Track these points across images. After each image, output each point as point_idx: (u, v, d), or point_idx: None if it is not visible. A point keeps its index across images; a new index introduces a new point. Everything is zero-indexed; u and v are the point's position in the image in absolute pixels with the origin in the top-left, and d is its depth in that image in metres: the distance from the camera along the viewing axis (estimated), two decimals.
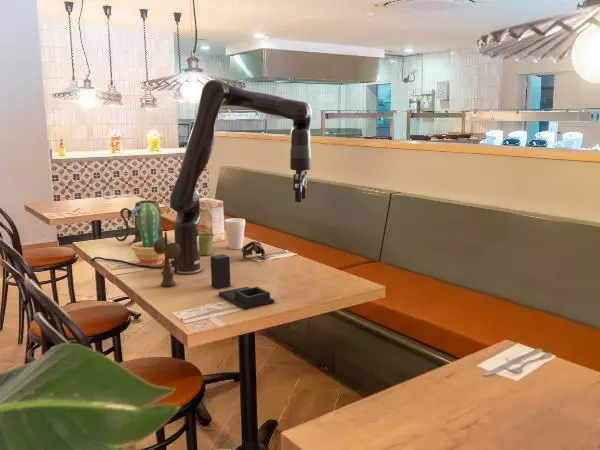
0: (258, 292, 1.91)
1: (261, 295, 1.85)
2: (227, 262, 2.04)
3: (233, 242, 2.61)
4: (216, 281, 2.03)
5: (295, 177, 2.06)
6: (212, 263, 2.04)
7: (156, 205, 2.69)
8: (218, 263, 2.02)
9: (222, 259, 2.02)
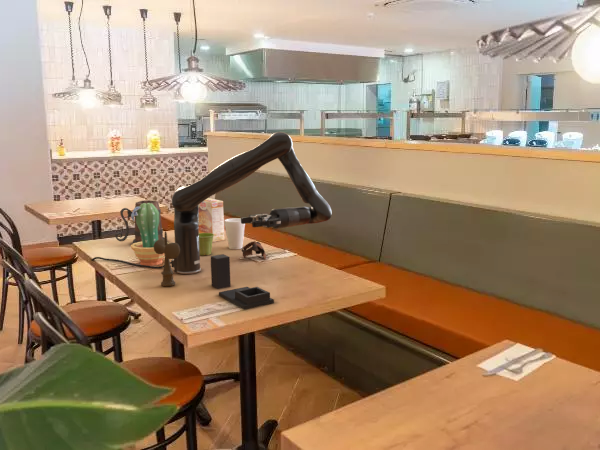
0: (258, 292, 1.91)
1: (261, 295, 1.85)
2: (227, 262, 2.04)
3: (233, 242, 2.61)
4: (216, 281, 2.03)
5: (278, 221, 2.09)
6: (212, 263, 2.04)
7: (156, 205, 2.69)
8: (218, 263, 2.02)
9: (222, 259, 2.02)
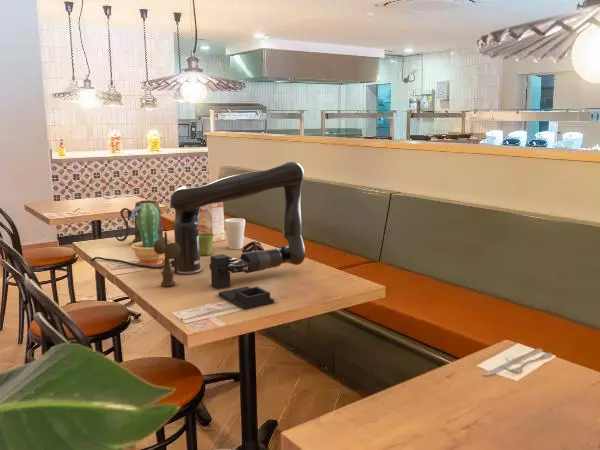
0: (258, 292, 1.91)
1: (261, 295, 1.85)
2: (227, 262, 2.04)
3: (233, 242, 2.61)
4: (216, 281, 2.03)
5: (245, 267, 2.04)
6: (212, 263, 2.04)
7: (156, 205, 2.69)
8: (218, 263, 2.02)
9: (222, 259, 2.02)
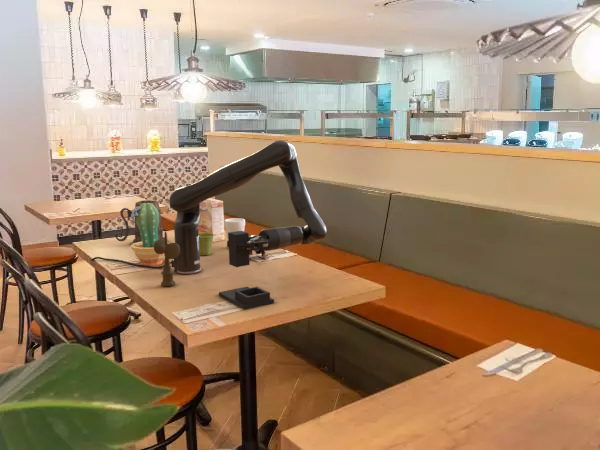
0: (258, 292, 1.91)
1: (261, 295, 1.85)
2: (246, 239, 1.91)
3: None
4: (234, 259, 1.90)
5: (265, 244, 1.91)
6: (230, 240, 1.91)
7: (156, 205, 2.69)
8: (236, 239, 1.89)
9: (241, 235, 1.89)
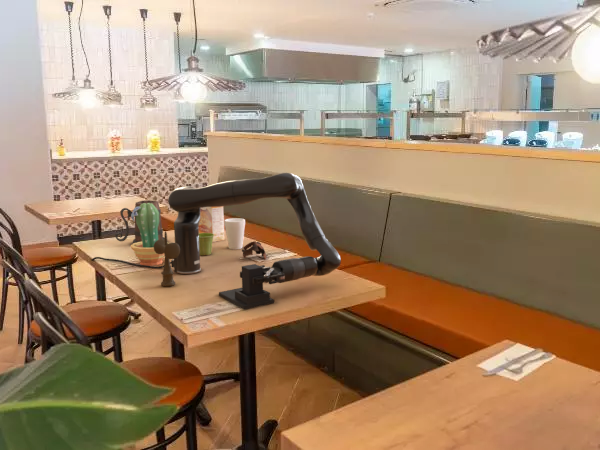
0: None
1: (261, 295, 1.85)
2: (260, 273, 1.86)
3: (233, 242, 2.61)
4: (248, 294, 1.85)
5: (282, 277, 1.86)
6: (243, 274, 1.86)
7: (156, 205, 2.69)
8: (250, 274, 1.84)
9: (255, 270, 1.84)
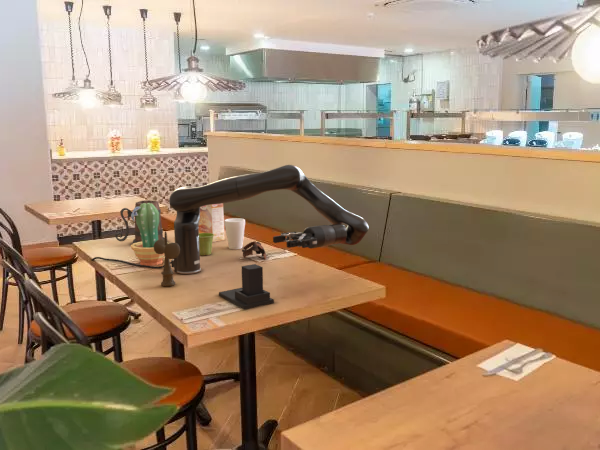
0: None
1: (261, 295, 1.85)
2: (260, 273, 1.86)
3: (233, 242, 2.61)
4: (248, 294, 1.85)
5: (314, 241, 1.92)
6: (243, 274, 1.86)
7: (156, 205, 2.69)
8: (250, 274, 1.84)
9: (255, 270, 1.84)
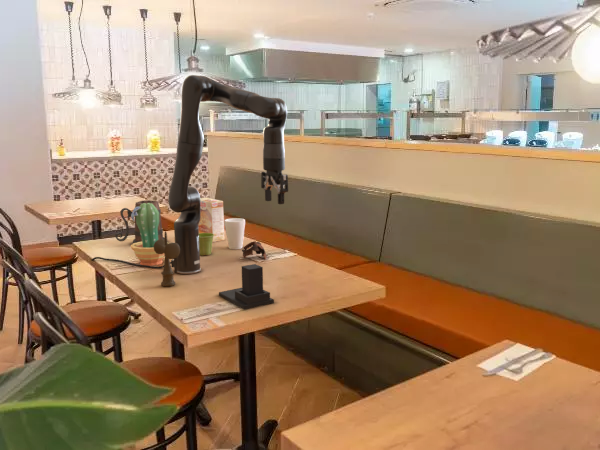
0: None
1: (261, 295, 1.85)
2: (260, 273, 1.86)
3: (233, 242, 2.61)
4: (248, 294, 1.85)
5: (284, 178, 1.96)
6: (243, 274, 1.86)
7: (156, 205, 2.69)
8: (250, 274, 1.84)
9: (255, 270, 1.84)
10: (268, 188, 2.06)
